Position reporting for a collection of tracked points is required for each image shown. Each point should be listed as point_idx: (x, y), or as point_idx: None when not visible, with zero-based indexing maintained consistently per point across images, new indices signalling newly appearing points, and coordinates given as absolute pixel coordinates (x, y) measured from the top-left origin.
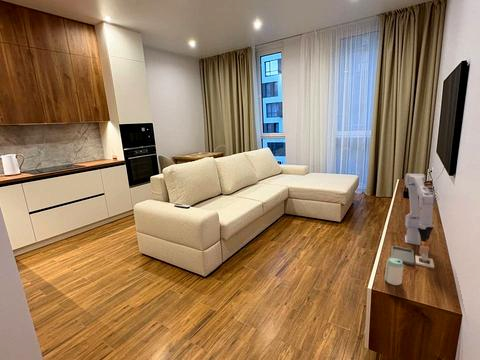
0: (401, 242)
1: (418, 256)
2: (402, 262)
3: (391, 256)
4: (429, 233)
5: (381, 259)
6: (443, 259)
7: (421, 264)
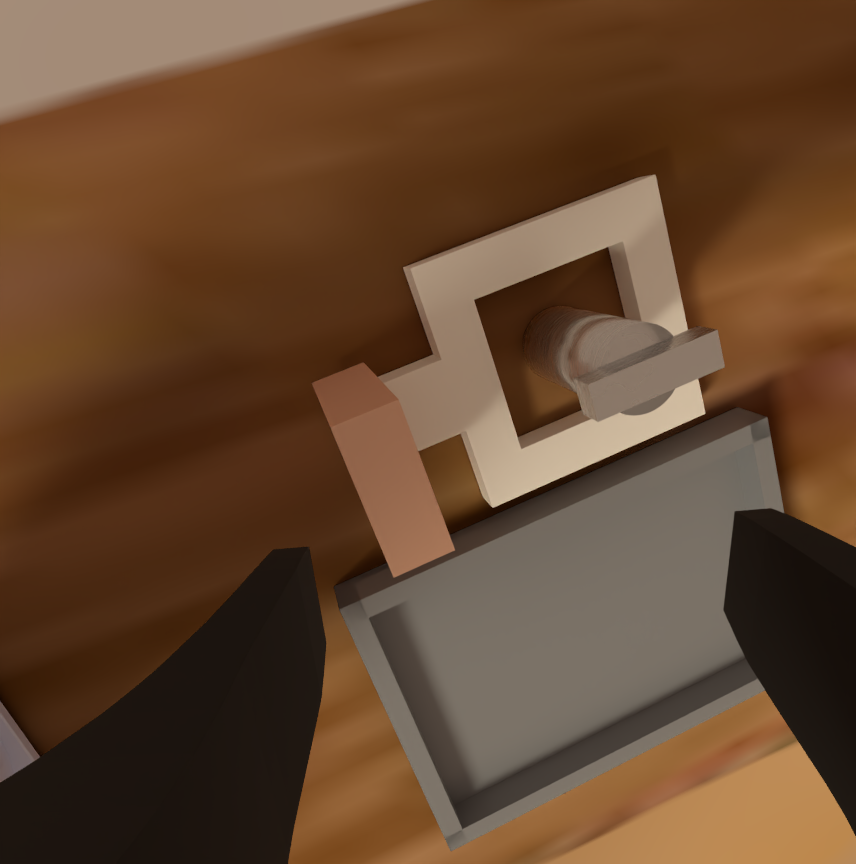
0: None
1: (491, 462)
2: None
3: None
4: (235, 700)
5: None
6: (192, 124)
7: None
